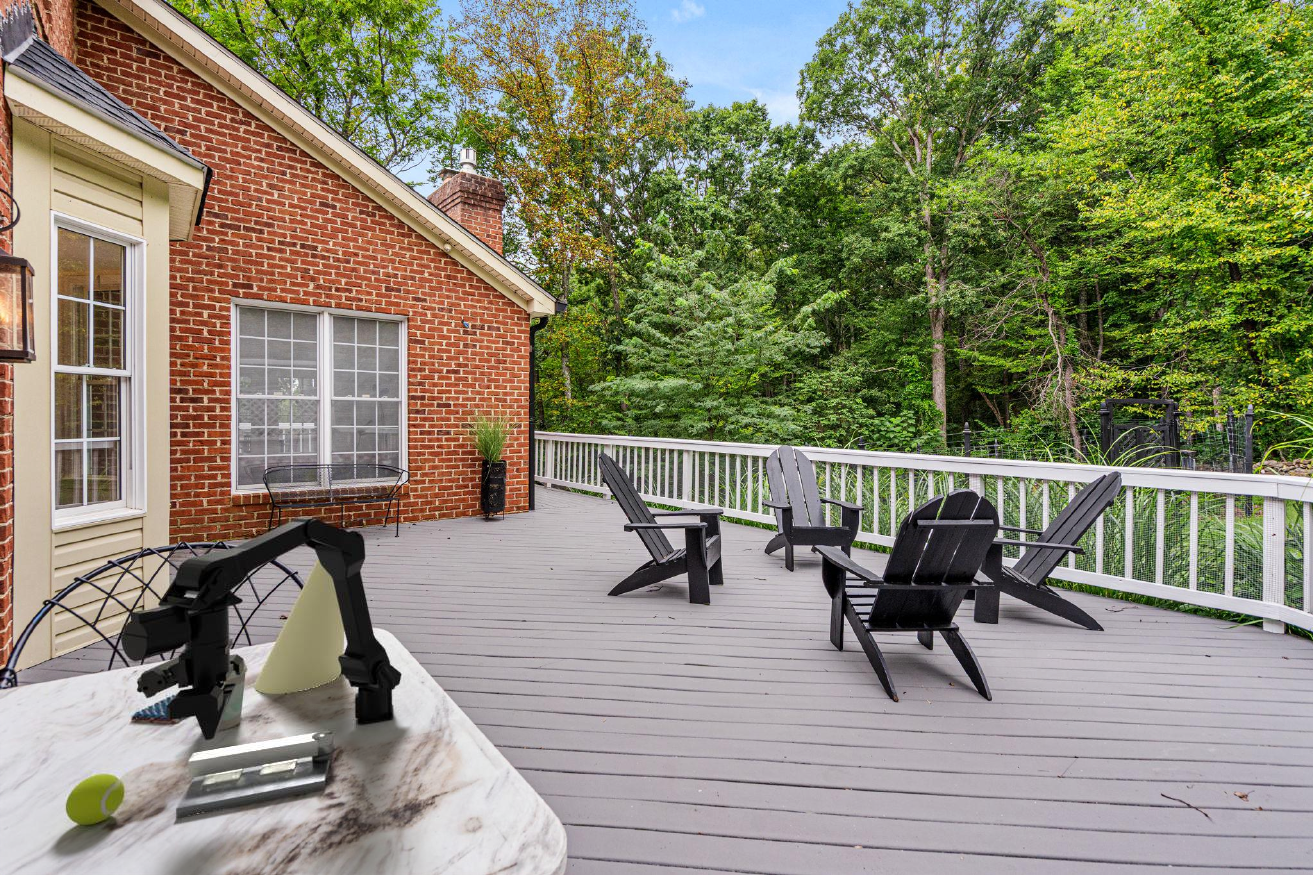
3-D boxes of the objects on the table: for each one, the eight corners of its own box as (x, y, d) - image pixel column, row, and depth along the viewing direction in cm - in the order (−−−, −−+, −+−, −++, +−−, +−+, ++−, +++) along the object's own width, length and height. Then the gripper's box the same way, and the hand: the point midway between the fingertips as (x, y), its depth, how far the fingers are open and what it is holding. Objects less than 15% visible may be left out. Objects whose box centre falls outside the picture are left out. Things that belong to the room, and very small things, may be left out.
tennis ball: (94, 807, 101) (93, 764, 101) (136, 807, 101) (135, 765, 101) (53, 834, 95) (52, 789, 95) (98, 835, 95) (97, 789, 94)
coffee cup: (223, 736, 125) (221, 673, 124) (185, 732, 126) (184, 670, 126) (258, 716, 133) (257, 658, 133) (223, 713, 135) (222, 655, 134)
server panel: (336, 744, 121) (336, 730, 121) (328, 788, 106) (328, 773, 106) (204, 767, 113) (204, 752, 113) (176, 818, 98) (175, 801, 98)
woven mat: (217, 704, 140) (216, 694, 140) (175, 726, 130) (175, 716, 130) (172, 702, 142) (172, 693, 142) (127, 724, 131) (127, 714, 131)
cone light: (235, 686, 148) (231, 533, 148) (306, 659, 165) (303, 521, 165) (312, 703, 139) (308, 539, 138) (379, 673, 156) (376, 526, 155)
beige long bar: (333, 744, 115) (333, 729, 115) (331, 753, 112) (331, 737, 112) (193, 768, 107) (193, 752, 107) (188, 778, 104) (187, 761, 104)
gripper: (164, 628, 107) (166, 722, 107) (119, 667, 90) (122, 779, 90) (243, 620, 111) (245, 711, 111) (215, 655, 94) (218, 763, 94)
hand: (209, 738), depth 102 cm, fingers closed
